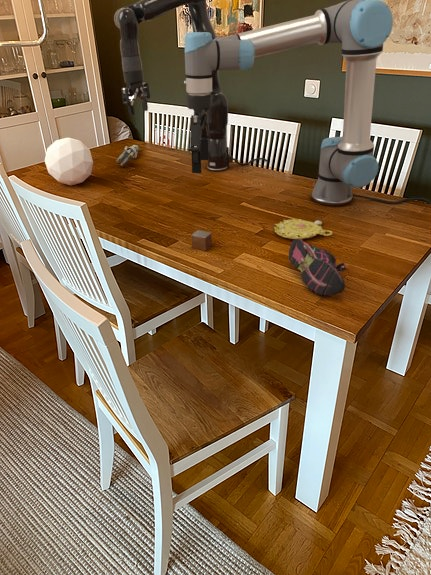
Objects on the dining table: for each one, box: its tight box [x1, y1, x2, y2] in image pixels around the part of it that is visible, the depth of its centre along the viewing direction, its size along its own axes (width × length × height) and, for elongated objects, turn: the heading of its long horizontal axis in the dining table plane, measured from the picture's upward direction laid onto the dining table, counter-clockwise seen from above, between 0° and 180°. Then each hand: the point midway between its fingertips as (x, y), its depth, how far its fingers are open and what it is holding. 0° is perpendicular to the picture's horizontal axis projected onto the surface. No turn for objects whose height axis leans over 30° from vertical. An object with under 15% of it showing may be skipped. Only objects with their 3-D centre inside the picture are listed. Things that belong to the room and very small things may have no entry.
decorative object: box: [273, 218, 333, 241], centre depth 145 cm, size 21×2×20 cm
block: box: [190, 229, 213, 252], centre depth 139 cm, size 4×5×4 cm
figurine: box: [115, 144, 140, 167], centre depth 221 cm, size 7×8×30 cm
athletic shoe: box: [288, 239, 349, 296], centre depth 119 cm, size 11×22×12 cm
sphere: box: [44, 137, 94, 187], centre depth 189 cm, size 19×20×20 cm
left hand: (138, 112), depth 180 cm, fingers open, 8 cm apart
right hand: (200, 166), depth 140 cm, fingers open, 13 cm apart
